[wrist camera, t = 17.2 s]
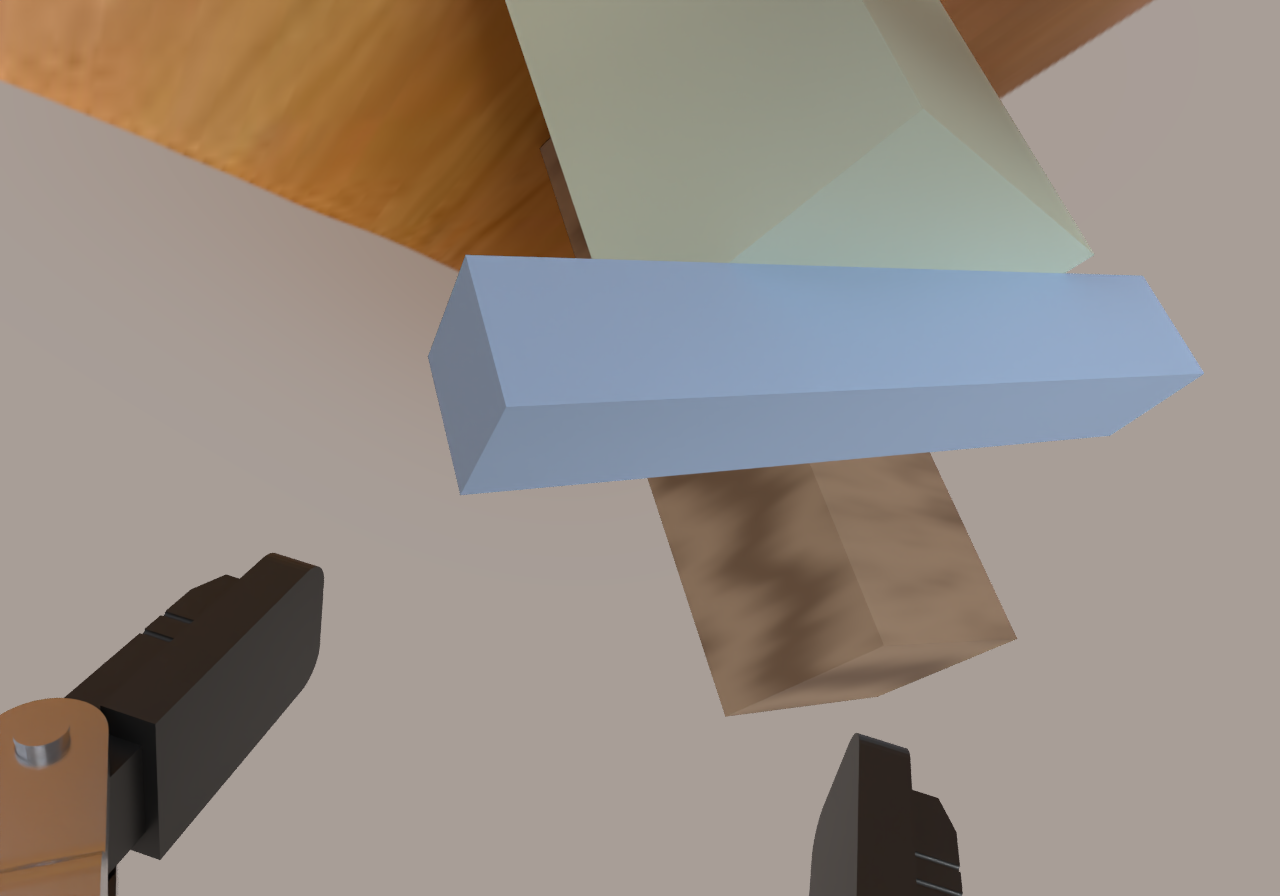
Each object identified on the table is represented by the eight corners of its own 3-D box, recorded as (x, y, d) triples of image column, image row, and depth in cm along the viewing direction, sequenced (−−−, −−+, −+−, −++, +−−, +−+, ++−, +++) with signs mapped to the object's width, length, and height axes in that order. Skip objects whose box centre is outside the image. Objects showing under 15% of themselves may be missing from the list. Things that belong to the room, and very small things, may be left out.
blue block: (465, 254, 21) (506, 406, 20) (1142, 275, 33) (1204, 373, 31) (427, 356, 25) (460, 495, 23) (1058, 343, 36) (1110, 435, 34)
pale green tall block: (625, -422, 31) (923, 108, 22) (820, -196, 40) (1094, 254, 30) (448, -168, 37) (621, 347, 27) (654, -18, 46) (841, 413, 36)
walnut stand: (639, 45, 49) (884, 645, 36) (782, 138, 58) (1017, 638, 45) (539, 148, 53) (725, 716, 40) (688, 219, 63) (877, 696, 49)
